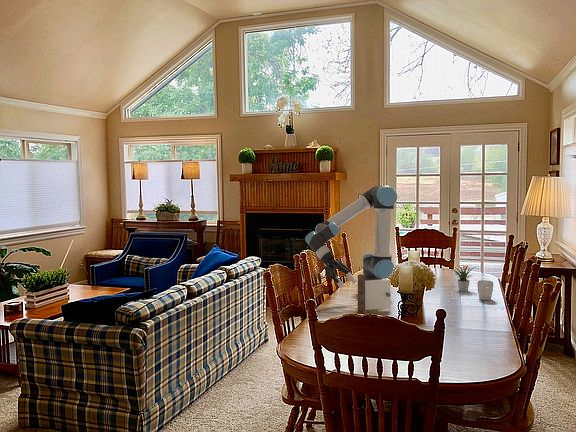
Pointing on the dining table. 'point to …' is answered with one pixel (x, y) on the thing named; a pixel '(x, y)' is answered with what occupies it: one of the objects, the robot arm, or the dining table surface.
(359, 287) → the door post
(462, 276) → the house plant
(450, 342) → the dining table surface
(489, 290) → the mug
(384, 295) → the door
